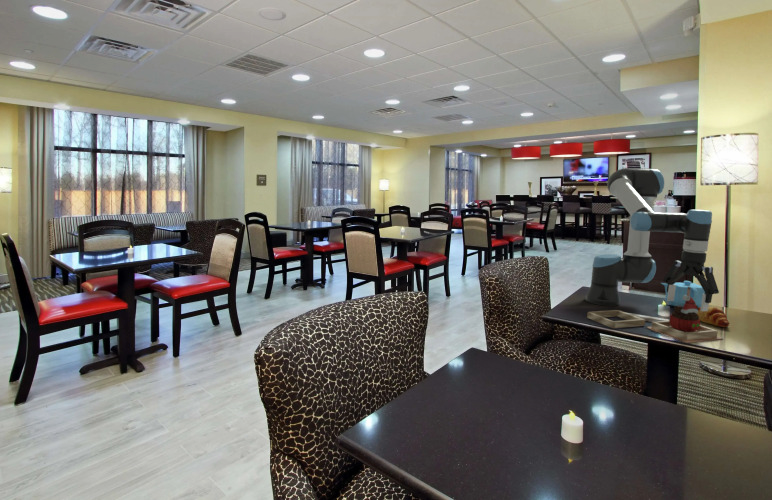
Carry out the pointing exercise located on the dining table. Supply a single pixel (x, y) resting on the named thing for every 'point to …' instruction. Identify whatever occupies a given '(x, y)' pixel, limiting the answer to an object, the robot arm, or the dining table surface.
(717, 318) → the croissant
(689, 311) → the cake
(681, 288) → the teapot
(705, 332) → the square wooden frames
